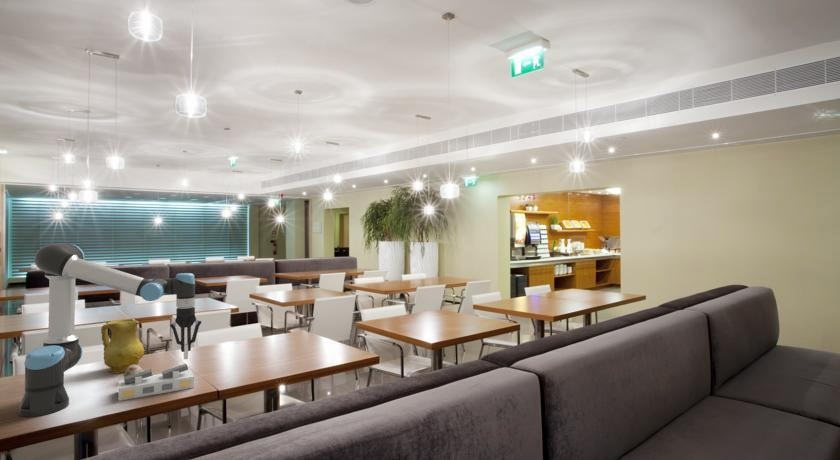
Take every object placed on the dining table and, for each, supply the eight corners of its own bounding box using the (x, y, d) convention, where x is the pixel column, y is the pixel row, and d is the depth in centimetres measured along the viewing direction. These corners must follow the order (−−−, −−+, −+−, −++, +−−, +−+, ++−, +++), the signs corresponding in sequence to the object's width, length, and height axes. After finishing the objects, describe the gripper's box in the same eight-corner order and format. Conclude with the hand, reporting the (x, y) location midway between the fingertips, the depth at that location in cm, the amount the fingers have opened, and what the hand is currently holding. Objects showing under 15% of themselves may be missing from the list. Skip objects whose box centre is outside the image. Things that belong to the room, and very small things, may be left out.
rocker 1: (124, 384, 184) (124, 380, 184) (124, 380, 189) (124, 376, 189) (152, 376, 190) (151, 372, 190) (151, 372, 194) (150, 368, 194)
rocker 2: (163, 378, 192) (162, 374, 192) (162, 375, 197) (161, 371, 197) (188, 369, 198) (187, 366, 198) (186, 366, 202) (186, 363, 202)
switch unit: (118, 401, 180) (118, 382, 180) (118, 391, 190) (118, 373, 190) (194, 387, 196) (194, 370, 196) (190, 379, 206) (190, 363, 206)
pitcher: (113, 376, 208) (114, 323, 210) (95, 371, 218) (96, 321, 219) (150, 368, 223) (151, 318, 224) (132, 363, 233) (133, 316, 234)
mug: (143, 383, 201) (131, 365, 200) (129, 390, 204) (117, 372, 203) (155, 374, 208) (144, 357, 207) (142, 381, 211) (130, 364, 210)
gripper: (170, 309, 193) (170, 363, 193) (202, 306, 200) (202, 358, 200) (168, 307, 199) (168, 358, 199) (200, 304, 206) (200, 354, 206)
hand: (185, 358), depth 200 cm, fingers closed
